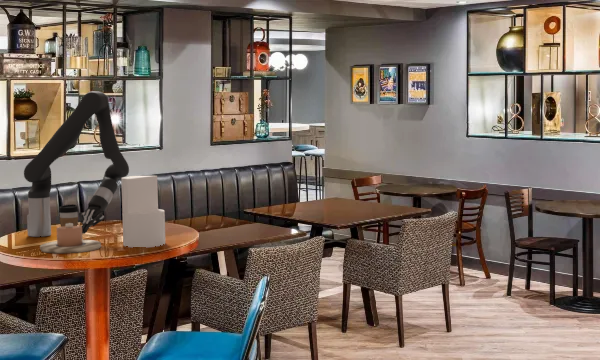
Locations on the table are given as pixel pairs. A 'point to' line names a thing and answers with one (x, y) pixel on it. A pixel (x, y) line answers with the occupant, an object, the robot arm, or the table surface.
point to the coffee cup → (68, 215)
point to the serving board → (86, 246)
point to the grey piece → (142, 212)
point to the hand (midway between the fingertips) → (82, 232)
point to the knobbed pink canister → (69, 235)
